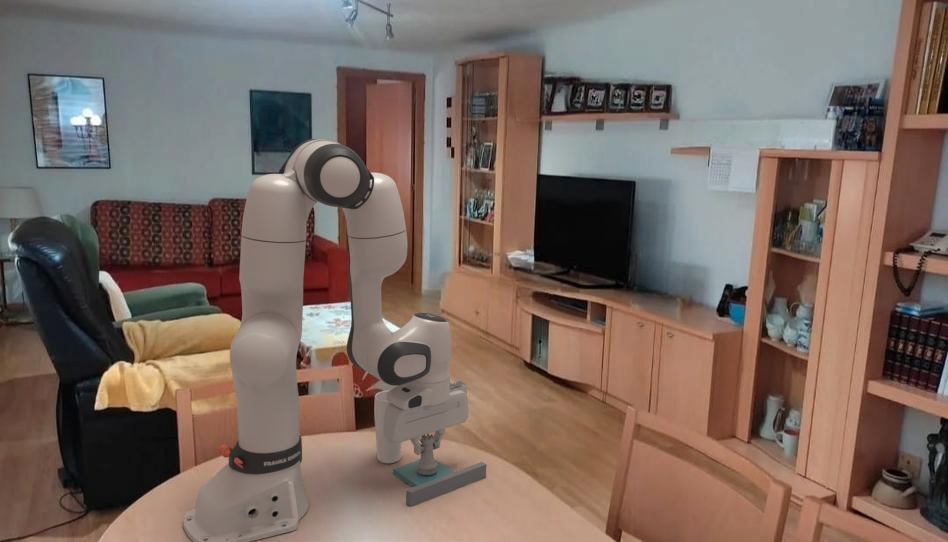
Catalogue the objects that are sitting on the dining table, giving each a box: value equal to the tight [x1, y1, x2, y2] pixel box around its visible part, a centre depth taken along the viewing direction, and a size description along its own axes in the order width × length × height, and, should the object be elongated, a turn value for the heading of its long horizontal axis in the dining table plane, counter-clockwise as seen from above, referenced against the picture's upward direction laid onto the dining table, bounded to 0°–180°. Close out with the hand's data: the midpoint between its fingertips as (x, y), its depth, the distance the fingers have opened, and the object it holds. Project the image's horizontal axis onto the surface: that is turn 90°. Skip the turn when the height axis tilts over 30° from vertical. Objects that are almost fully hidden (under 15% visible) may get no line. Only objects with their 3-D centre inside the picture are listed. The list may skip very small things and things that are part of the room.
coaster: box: [392, 459, 456, 488], centre depth 149 cm, size 10×10×1 cm
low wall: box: [405, 461, 488, 507], centre depth 143 cm, size 20×2×3 cm, turn 131°
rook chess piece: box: [417, 433, 438, 476], centre depth 148 cm, size 4×4×8 cm
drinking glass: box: [373, 390, 403, 464], centre depth 154 cm, size 7×7×15 cm
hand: (426, 450), depth 148 cm, fingers closed on rook chess piece, 3 cm apart
